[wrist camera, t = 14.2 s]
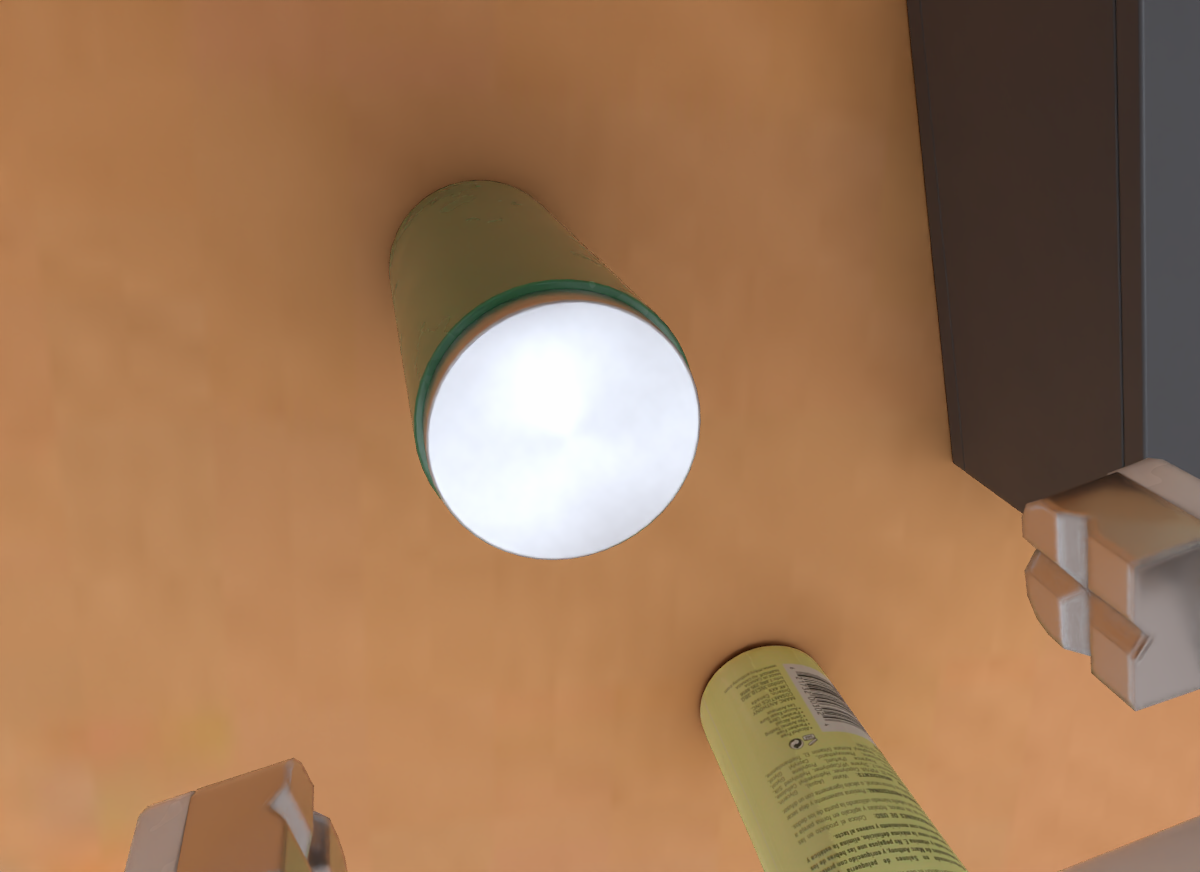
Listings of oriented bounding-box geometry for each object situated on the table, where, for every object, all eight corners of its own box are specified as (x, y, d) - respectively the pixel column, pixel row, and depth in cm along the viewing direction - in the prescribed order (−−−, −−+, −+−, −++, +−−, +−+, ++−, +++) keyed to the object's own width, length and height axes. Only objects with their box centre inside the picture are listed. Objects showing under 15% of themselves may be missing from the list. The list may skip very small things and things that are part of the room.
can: (349, 264, 28) (350, 433, 17) (488, 140, 28) (588, 225, 16) (472, 390, 31) (549, 619, 19) (602, 278, 30) (763, 439, 19)
